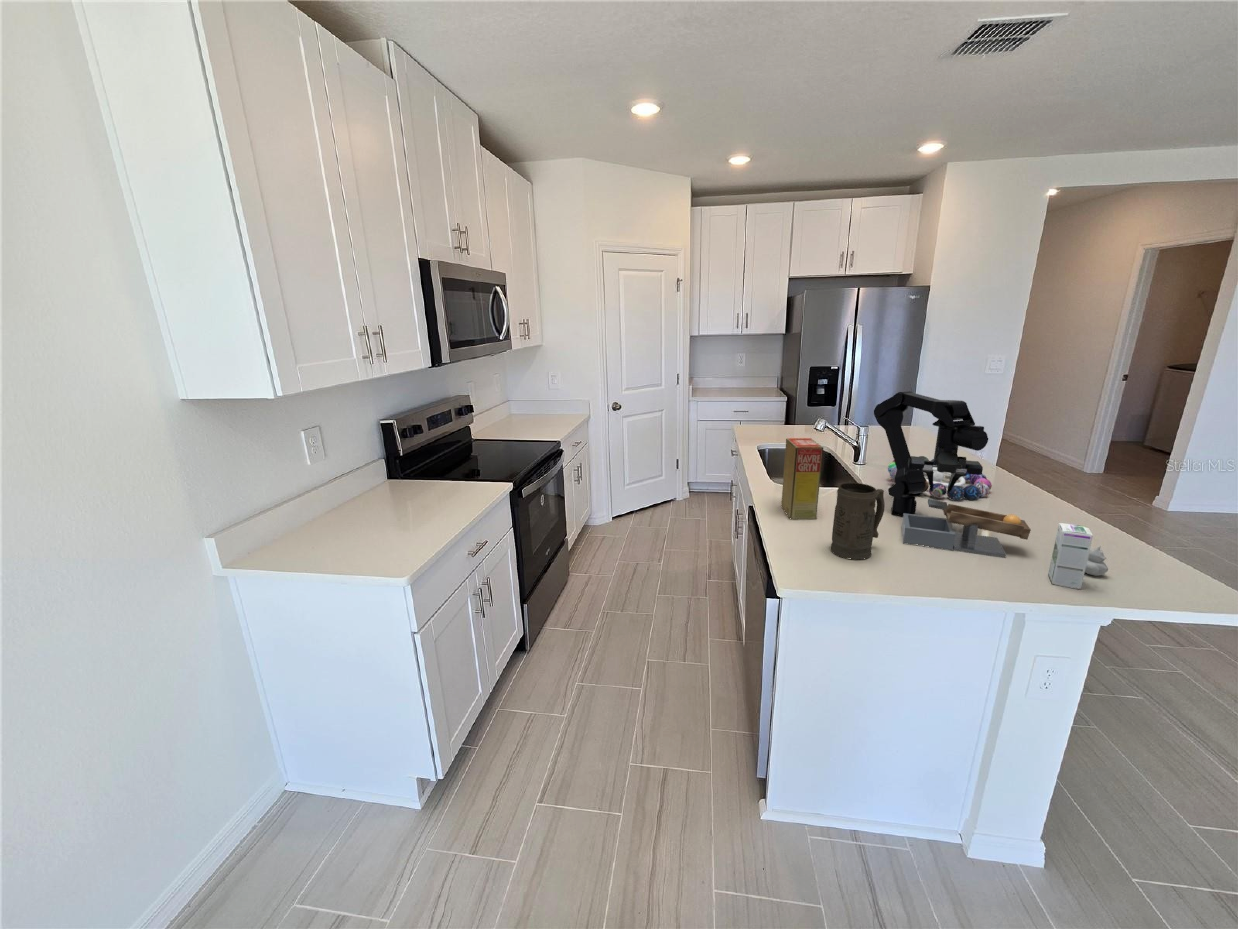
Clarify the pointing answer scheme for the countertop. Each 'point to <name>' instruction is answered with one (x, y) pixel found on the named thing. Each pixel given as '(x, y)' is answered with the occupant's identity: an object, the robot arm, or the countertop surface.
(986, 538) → the lever stand
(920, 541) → the grey open tray
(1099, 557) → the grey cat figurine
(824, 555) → the countertop surface
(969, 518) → the tipping lever
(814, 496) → the food packaging
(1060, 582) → the syrup box
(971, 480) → the decorated egg ring holder
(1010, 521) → the ball
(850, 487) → the beer stein
